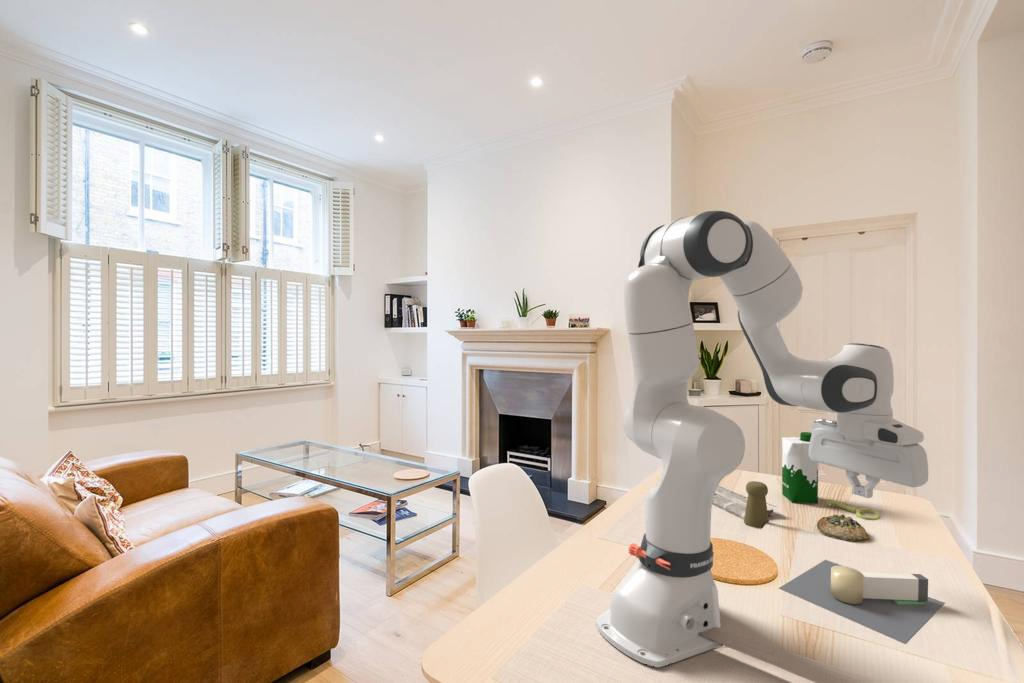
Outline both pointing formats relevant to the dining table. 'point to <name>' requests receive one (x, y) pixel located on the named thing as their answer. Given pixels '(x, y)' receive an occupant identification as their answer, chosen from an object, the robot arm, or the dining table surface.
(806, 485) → the milk carton
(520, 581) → the dining table surface
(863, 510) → the key
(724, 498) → the newspaper
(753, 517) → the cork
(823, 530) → the bread roll
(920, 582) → the dial lever
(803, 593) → the dial board
